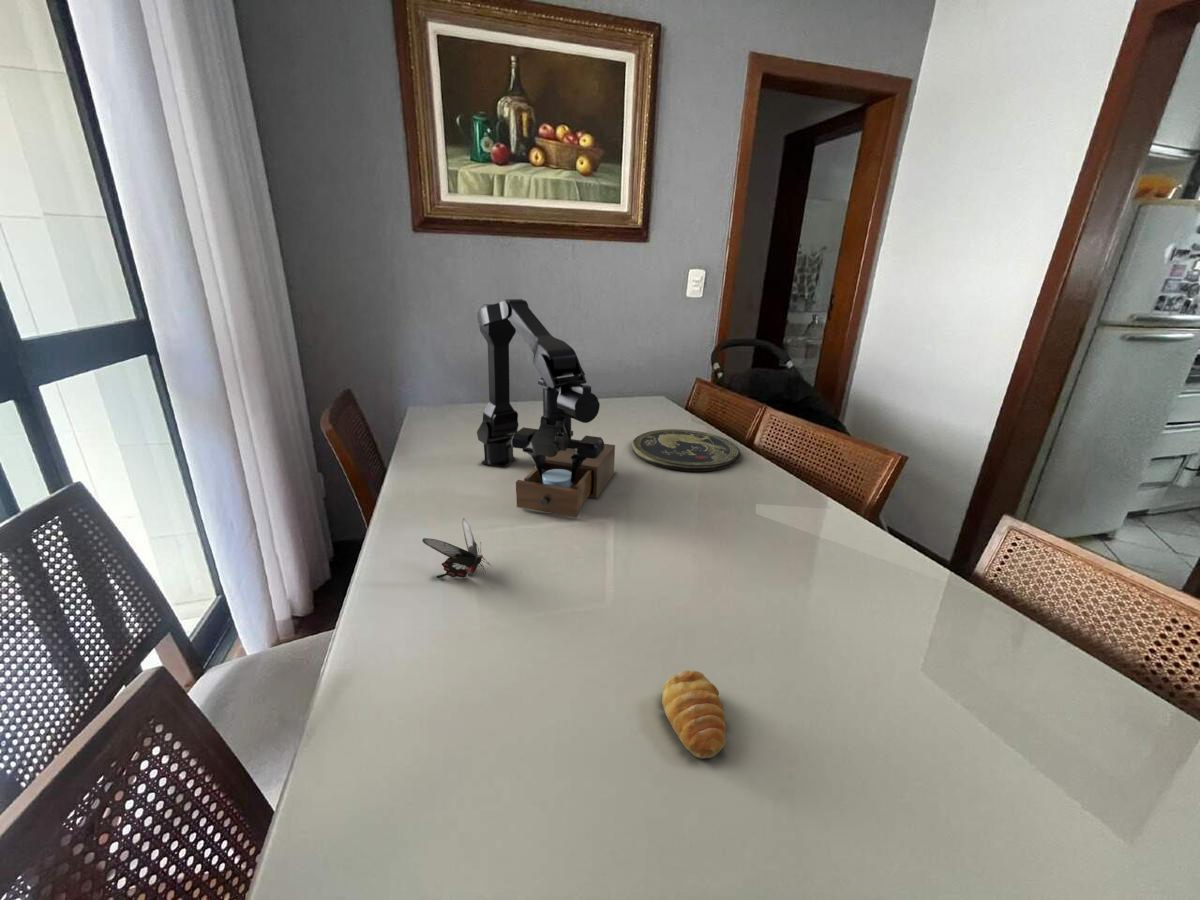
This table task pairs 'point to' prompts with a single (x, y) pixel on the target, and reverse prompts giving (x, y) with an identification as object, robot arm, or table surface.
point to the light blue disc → (557, 478)
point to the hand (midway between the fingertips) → (557, 479)
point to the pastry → (695, 713)
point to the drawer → (554, 492)
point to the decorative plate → (686, 450)
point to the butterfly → (458, 554)
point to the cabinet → (590, 466)
